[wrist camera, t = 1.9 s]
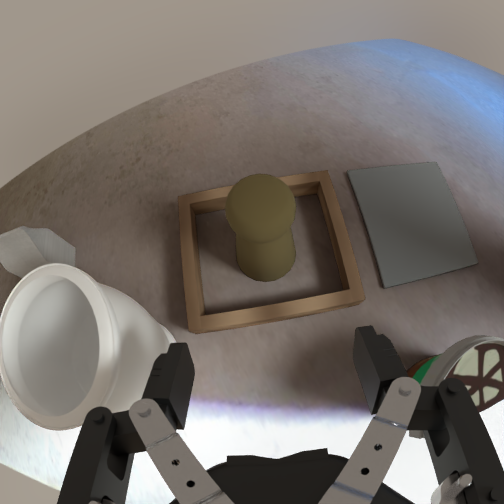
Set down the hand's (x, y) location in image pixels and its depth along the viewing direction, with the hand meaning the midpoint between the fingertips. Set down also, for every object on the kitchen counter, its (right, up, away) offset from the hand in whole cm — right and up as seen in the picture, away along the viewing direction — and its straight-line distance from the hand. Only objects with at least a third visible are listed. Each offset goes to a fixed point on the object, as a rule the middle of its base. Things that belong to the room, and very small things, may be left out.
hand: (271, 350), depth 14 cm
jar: (-12, -6, +15) cm, 20 cm away
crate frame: (0, +5, +17) cm, 18 cm away
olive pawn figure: (0, +4, +18) cm, 18 cm away
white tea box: (-26, +3, +19) cm, 32 cm away
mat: (+17, +9, +17) cm, 26 cm away
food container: (+17, -8, +11) cm, 22 cm away
